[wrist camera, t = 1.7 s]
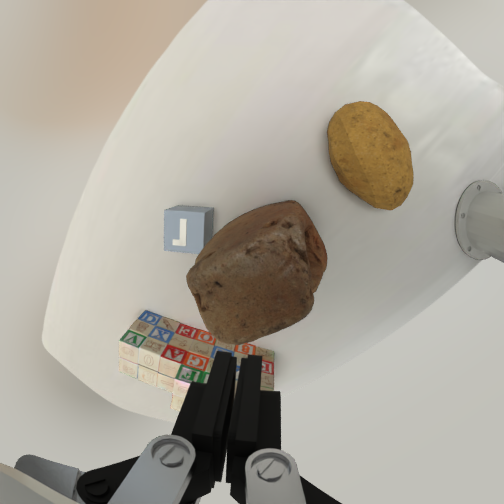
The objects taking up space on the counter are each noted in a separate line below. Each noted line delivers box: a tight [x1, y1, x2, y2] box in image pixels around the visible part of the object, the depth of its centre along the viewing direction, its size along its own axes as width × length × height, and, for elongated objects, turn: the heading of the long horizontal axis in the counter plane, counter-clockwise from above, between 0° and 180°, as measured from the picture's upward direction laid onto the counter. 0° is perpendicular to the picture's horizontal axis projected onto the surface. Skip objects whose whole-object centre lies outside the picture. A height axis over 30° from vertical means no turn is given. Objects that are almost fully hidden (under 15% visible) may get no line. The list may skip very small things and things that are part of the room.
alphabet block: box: [164, 205, 214, 254], centre depth 35 cm, size 5×5×5 cm
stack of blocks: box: [119, 310, 274, 411], centre depth 37 cm, size 21×6×12 cm, turn 74°
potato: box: [327, 101, 413, 210], centre depth 29 cm, size 10×13×9 cm
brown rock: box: [186, 200, 327, 345], centre depth 28 cm, size 11×8×20 cm
